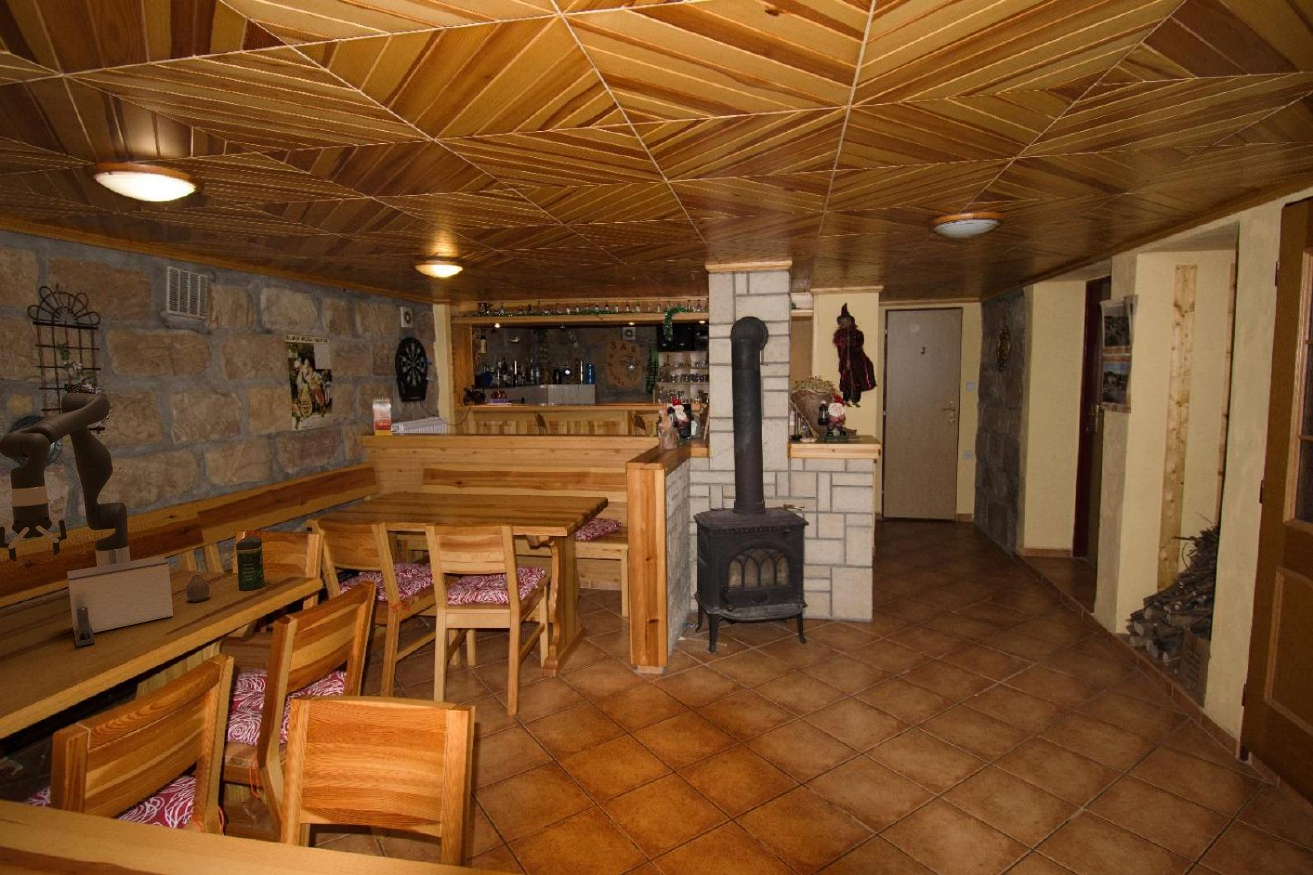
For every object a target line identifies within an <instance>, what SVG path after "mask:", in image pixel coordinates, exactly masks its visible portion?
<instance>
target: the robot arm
mask: <svg viewBox="0 0 1313 875" xmlns="http://www.w3.org/2000/svg"><path fill="white" fill-rule="evenodd" d="M60 406H61V413H58V414H54V415H51V416H48V417H46V418H43V419H41V420H39V421H37V422H36V423H34V424H33V425H31V426H27V427H24V428H21V429H20V428H19V429H17V430H14V431H11V432H8V433H6V434H5V435H4V436H3V437H1V439H0V454H1V455H2V456H4V457H6V458H8V459H27V462H26V464H25V465H22V466H21V465H20V466H17V467H14V468H12V469H11V470H10V472H9V474H10V484H11V485H10V486H11V495H10V497H11V499H10V500H11V501H10V503H11V507H12V508H11V509H12V518H13V523H12V525H0V549H1V548H2V549H7V550H8V556H9V557H8V558H9V560H10V561H12V562H17V553H16V552H17V551H16V546H17V545H18V544H19V542H20V541H21V540H22V539H26V540H28V539H31V538H41V537H43V536H45V537H46V538H47V539H49V540H51V541H52V550H53V551H52V552H53V556H58V554H59V553H61V550H60V548H61V547H60V542H62V541H64V540H66V539H68V537H67V529H66V525H65V519H64V518H59V519H56V520H51V519H50V512H49V510H50V509H49V498H48V491H47V488H46V481H45V478H46V477H45V470H46V464H47V460H48V457H49V453H50V449H51V445H54V444H55V443H56V442H58V441H60V440H61V439H63V438H64V437H66V436H67V435H69V438H70V441H71V445H72V449H73V450H72V451H73V454H74V460H75V464H76V465H75V466H76V470H77V474H78V478H79V481H80V485H81V489H82V495H83V502H84V510H85V519H86V524H87V526H88V527H89V529H90V530H91V531H103V530H114V529H115V531H114V532H113V533H112V534H110V535H109V536H107V537H104V538H100V539H98V540H97V541H96V542H95V544H94V548H95V557H96V567H98V566H104V565H110V564H116V563H122V562H129V561H131V555H130V554H131V553H130V552H131V551H130V542H129V530H128V528H129V527H128V509H127V506H126V504H125V503H124V502H121V501H120V502H119V501H118V502H108V503H107V502H106V503H99V502H98V498H99V495H100V493H101V491H102V490H103V489H104V487H105V486H106V484H107V483H108V481H109V480H110V478H111V477H112V475H113V473H114V472H113V471H114V467H113V461H112V457H111V453H110V451H109V450H108V448H107V447H106V446H105V445H104V444H103V443H102V442H101V441H100V440H99V439H98V438H97V437H95V435H94V434H93V433H92V432H91V431H90V430H89V428H88V426H91V425H94V424H96V423H99V422H102V421H103V420H105V419H106V418H107V417H108V416H109V412H110V401H109V399H108V398H107V397H106V396H104V395H101V394H97V393H88V392H87V393H85V392H68V393H66V394H64V395H63V397H62V398H61V402H60ZM53 525H54V526H55V527H56V528H59V531H60V535H58V536H56V535H55V534H54V533H52V532H51V531H50V530H49V529H51V527H52V526H53ZM11 530H12V531H13V532H14V533H15V534H16V535H15V536H14V537H13V539H12V540H11V541H10V542H9V543H8V542H6V535H7V534H8V533H9V532H10V531H11Z"/></svg>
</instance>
